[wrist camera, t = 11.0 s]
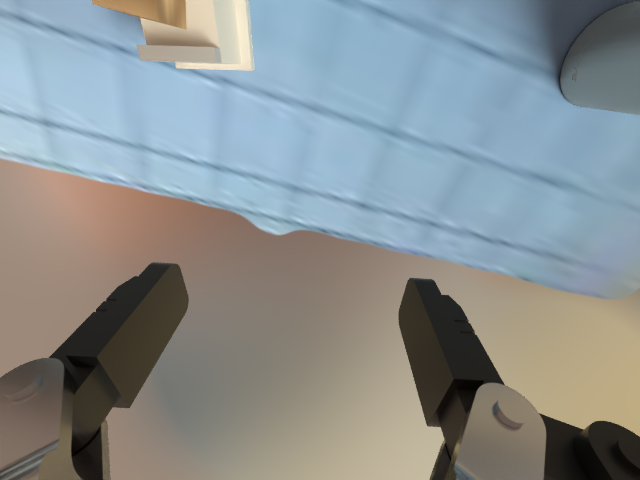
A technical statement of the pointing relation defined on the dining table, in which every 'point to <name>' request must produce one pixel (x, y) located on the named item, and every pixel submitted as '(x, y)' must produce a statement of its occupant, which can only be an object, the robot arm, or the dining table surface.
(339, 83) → the dining table surface
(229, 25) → the display stand
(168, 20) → the bar
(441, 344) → the robot arm
